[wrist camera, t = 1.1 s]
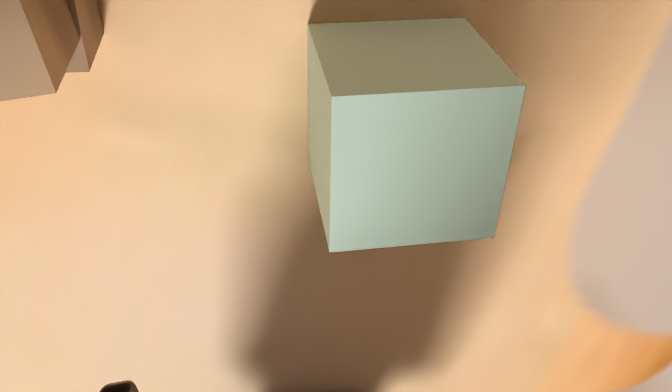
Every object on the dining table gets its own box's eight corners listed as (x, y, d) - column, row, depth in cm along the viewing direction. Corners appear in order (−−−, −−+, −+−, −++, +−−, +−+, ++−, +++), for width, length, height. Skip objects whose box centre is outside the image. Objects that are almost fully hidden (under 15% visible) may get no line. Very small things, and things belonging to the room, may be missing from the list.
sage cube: (445, 150, 23) (494, 237, 19) (308, 160, 22) (329, 252, 18) (463, 16, 20) (525, 85, 16) (307, 23, 19) (331, 96, 15)
